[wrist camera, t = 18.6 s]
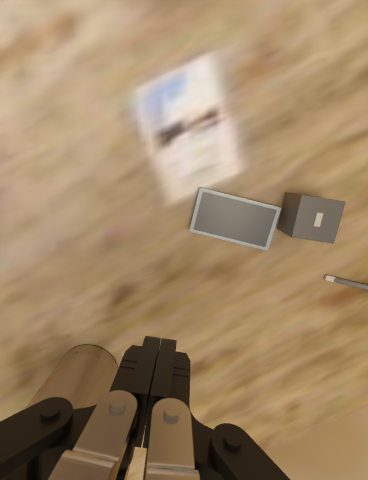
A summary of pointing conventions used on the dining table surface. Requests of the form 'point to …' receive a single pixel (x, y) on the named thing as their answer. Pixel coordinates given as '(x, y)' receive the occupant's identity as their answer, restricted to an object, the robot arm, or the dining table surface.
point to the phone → (234, 219)
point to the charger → (310, 217)
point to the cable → (345, 282)
